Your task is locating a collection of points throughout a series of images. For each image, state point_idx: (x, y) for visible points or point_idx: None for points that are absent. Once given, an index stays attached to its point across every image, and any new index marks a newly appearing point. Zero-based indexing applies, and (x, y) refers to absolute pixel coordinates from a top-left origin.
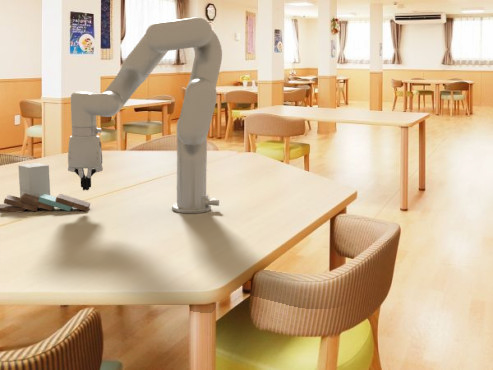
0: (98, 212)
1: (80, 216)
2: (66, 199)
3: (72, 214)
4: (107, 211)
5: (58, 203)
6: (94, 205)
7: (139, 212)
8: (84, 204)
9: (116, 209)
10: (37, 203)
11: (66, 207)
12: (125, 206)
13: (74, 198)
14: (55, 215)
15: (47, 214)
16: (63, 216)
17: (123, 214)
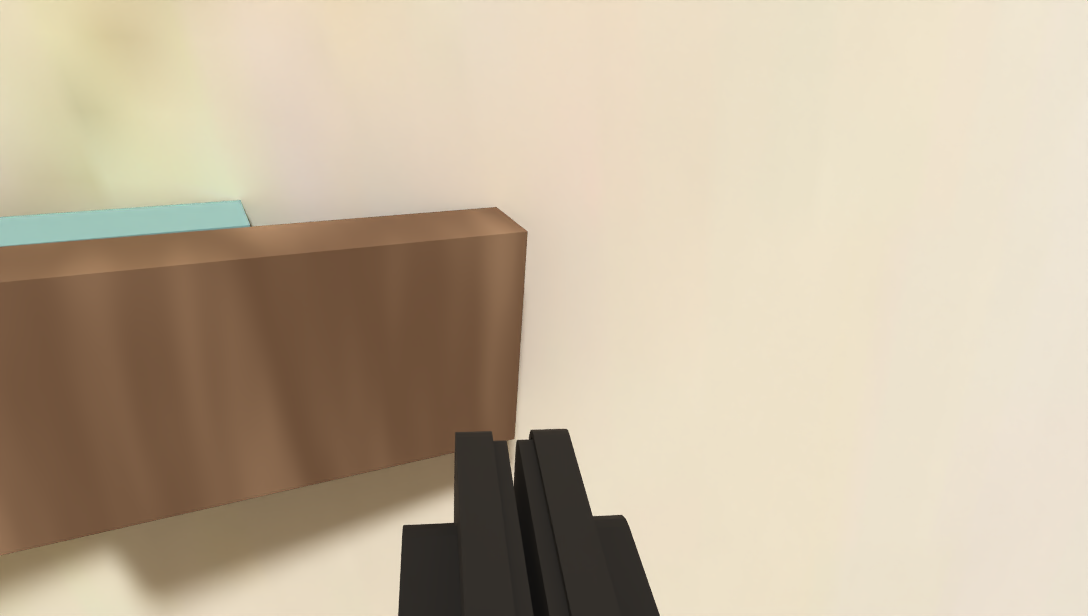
0: (638, 439)
1: None
2: (169, 486)
3: (345, 526)
4: (742, 395)
5: None
6: (565, 61)
7: (1069, 426)
8: (461, 398)
9: (856, 303)
10: None
11: None
12: (997, 143)
13: (253, 284)
14: (152, 572)
15: None
16: (264, 600)
17: (894, 502)
